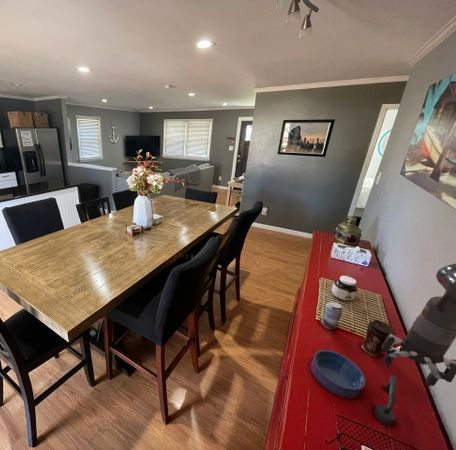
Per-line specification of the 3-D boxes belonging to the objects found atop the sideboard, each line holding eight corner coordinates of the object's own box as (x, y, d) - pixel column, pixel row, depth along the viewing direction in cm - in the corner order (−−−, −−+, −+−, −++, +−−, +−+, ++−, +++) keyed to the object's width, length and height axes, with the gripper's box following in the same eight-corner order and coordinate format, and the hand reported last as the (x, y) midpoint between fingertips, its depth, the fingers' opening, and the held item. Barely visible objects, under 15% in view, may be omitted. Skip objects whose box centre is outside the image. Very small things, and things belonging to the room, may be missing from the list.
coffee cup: (361, 338, 105) (372, 315, 100) (386, 351, 100) (399, 327, 95) (356, 348, 100) (367, 325, 95) (382, 362, 94) (395, 338, 89)
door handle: (391, 428, 74) (401, 414, 71) (373, 416, 76) (381, 402, 74) (395, 392, 84) (403, 379, 81) (378, 383, 86) (386, 370, 84)
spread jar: (332, 299, 129) (339, 281, 125) (326, 287, 139) (332, 270, 135) (359, 304, 126) (367, 286, 121) (350, 291, 136) (358, 274, 131)
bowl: (363, 378, 88) (368, 369, 86) (356, 409, 78) (361, 399, 76) (316, 352, 98) (320, 343, 96) (305, 376, 88) (308, 367, 86)
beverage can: (323, 330, 109) (331, 309, 104) (317, 318, 116) (324, 298, 111) (338, 333, 108) (347, 312, 103) (332, 321, 114) (340, 301, 110)
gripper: (396, 326, 67) (374, 366, 73) (476, 358, 58) (443, 400, 64) (396, 312, 72) (376, 351, 78) (469, 340, 63) (440, 381, 69)
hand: (406, 373), depth 71 cm, fingers open, 8 cm apart
